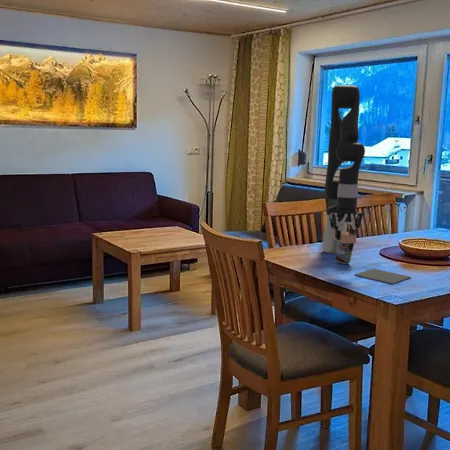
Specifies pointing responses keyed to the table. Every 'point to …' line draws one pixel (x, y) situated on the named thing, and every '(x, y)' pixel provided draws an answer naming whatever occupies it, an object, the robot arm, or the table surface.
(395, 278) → the mat
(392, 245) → the table surface
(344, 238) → the tan rectangular block
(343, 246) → the beverage can
